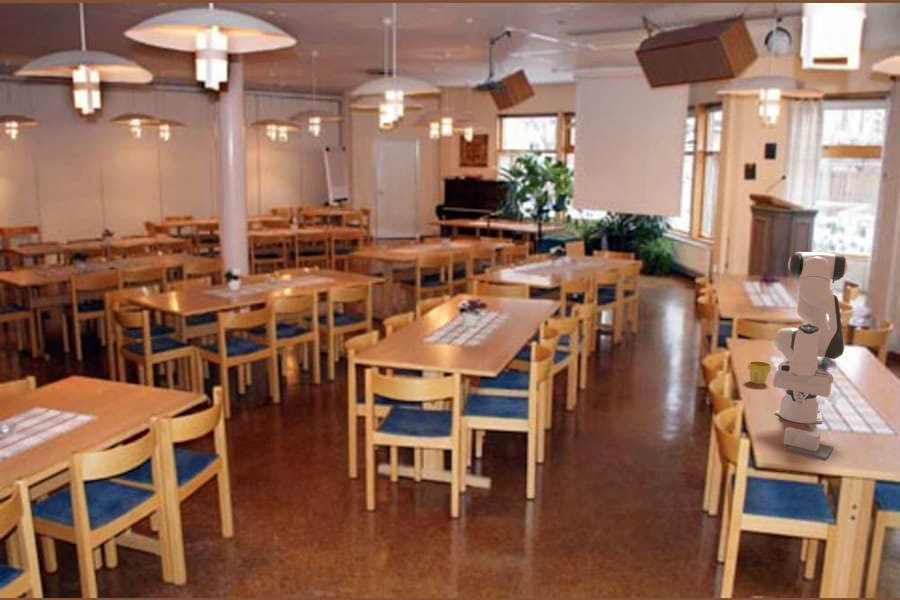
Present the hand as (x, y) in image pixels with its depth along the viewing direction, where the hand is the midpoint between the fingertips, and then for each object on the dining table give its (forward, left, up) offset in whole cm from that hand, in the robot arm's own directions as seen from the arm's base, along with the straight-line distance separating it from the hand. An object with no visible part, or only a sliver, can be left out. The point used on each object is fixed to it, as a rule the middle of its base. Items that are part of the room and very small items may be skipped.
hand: (799, 402), depth 300 cm
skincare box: (+1, -4, -14) cm, 14 cm away
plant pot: (-81, -34, -18) cm, 90 cm away
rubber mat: (0, +6, -18) cm, 19 cm away
